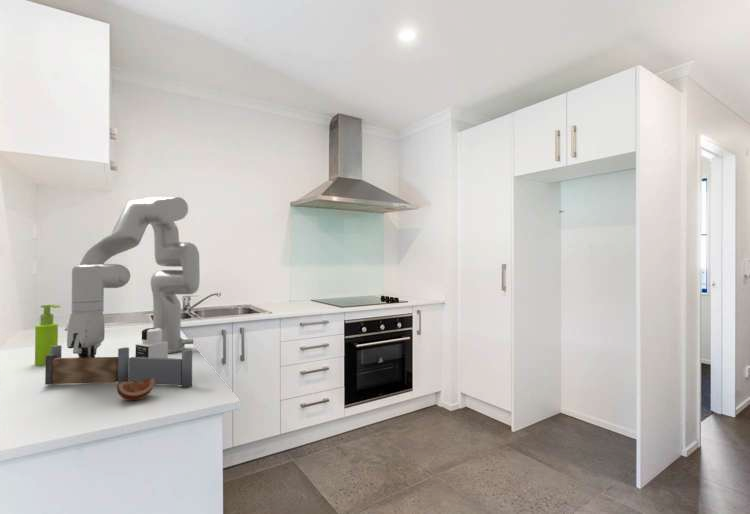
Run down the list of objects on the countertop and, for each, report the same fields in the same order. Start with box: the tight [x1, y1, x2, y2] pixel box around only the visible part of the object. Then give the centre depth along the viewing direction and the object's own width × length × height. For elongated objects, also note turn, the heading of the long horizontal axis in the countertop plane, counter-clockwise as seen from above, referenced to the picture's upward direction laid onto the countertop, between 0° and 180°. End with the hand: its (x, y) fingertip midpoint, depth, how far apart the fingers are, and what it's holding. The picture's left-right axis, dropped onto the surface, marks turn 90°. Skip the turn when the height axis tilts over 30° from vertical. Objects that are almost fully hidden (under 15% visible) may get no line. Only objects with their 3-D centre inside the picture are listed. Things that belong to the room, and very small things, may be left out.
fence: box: [51, 344, 193, 389], centre depth 111 cm, size 44×3×10 cm, turn 83°
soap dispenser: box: [34, 304, 61, 367], centre depth 133 cm, size 6×7×20 cm
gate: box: [44, 354, 118, 386], centre depth 110 cm, size 18×2×8 cm, turn 95°
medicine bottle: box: [135, 327, 169, 358], centre depth 133 cm, size 7×7×12 cm
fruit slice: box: [116, 378, 156, 401], centre depth 98 cm, size 8×7×5 cm
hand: (87, 370), depth 113 cm, fingers closed
